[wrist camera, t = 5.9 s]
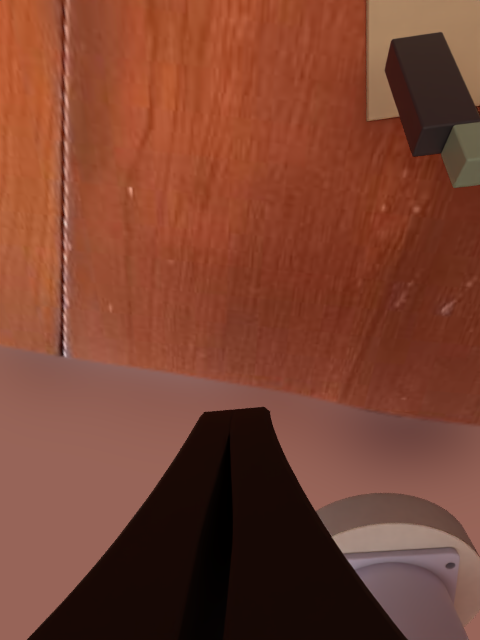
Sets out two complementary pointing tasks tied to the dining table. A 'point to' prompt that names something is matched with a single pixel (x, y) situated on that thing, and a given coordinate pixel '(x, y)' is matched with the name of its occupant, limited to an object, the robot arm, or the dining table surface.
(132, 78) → the dining table surface
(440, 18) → the mat
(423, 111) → the tray
